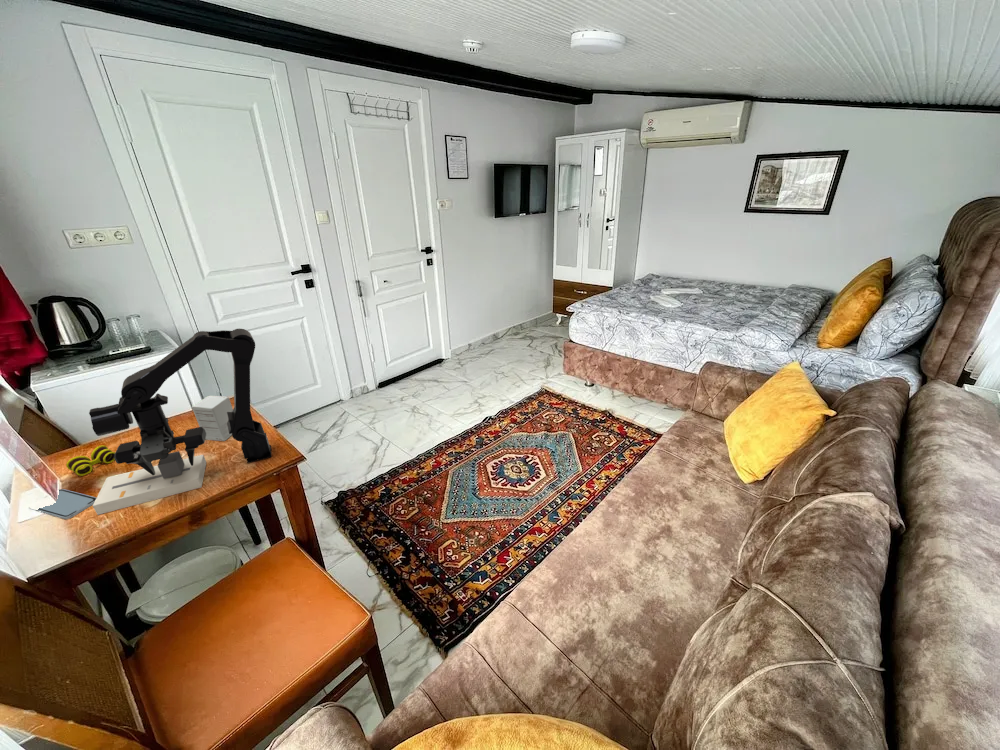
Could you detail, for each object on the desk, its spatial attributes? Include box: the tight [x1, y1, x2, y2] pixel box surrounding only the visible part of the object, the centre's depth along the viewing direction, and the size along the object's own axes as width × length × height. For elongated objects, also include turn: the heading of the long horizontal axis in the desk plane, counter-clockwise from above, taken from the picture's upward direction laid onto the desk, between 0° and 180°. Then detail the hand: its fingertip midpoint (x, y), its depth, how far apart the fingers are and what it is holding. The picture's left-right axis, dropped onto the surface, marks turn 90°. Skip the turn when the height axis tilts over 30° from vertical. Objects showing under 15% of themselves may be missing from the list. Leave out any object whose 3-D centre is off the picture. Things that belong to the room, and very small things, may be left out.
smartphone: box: [37, 488, 97, 520], centre depth 106 cm, size 7×1×15 cm
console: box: [92, 454, 207, 516], centre depth 111 cm, size 22×12×3 cm, turn 117°
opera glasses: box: [66, 445, 116, 477], centre depth 119 cm, size 10×5×5 cm, turn 156°
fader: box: [157, 450, 184, 479], centre depth 111 cm, size 4×5×4 cm
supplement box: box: [191, 395, 234, 442], centre depth 132 cm, size 7×7×13 cm
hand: (173, 469), depth 112 cm, fingers open, 8 cm apart
